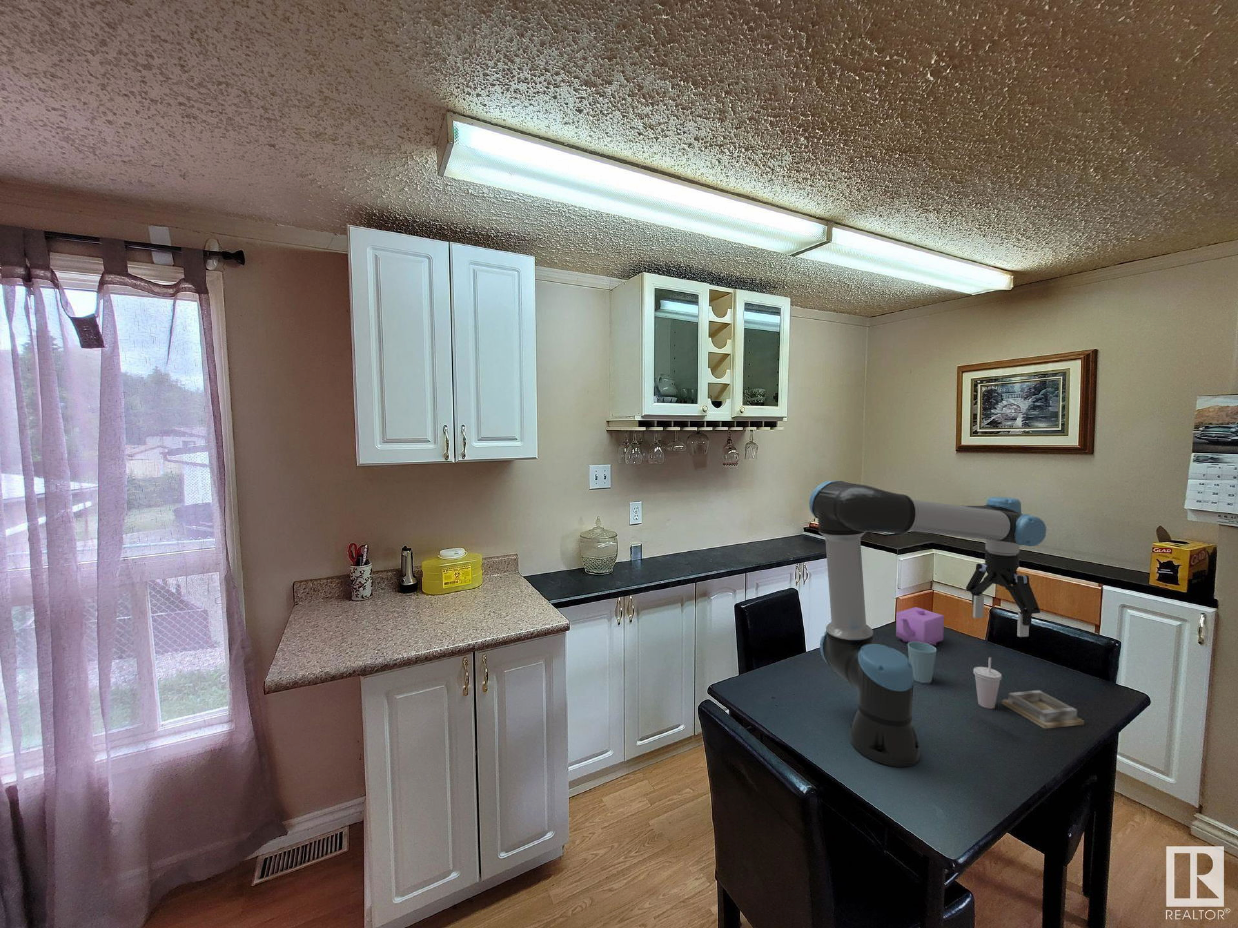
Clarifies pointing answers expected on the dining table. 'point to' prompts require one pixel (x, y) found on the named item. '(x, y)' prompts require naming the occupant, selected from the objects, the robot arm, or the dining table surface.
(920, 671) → the cup
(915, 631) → the purple box
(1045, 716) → the tray
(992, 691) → the smoothie
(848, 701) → the dining table surface
